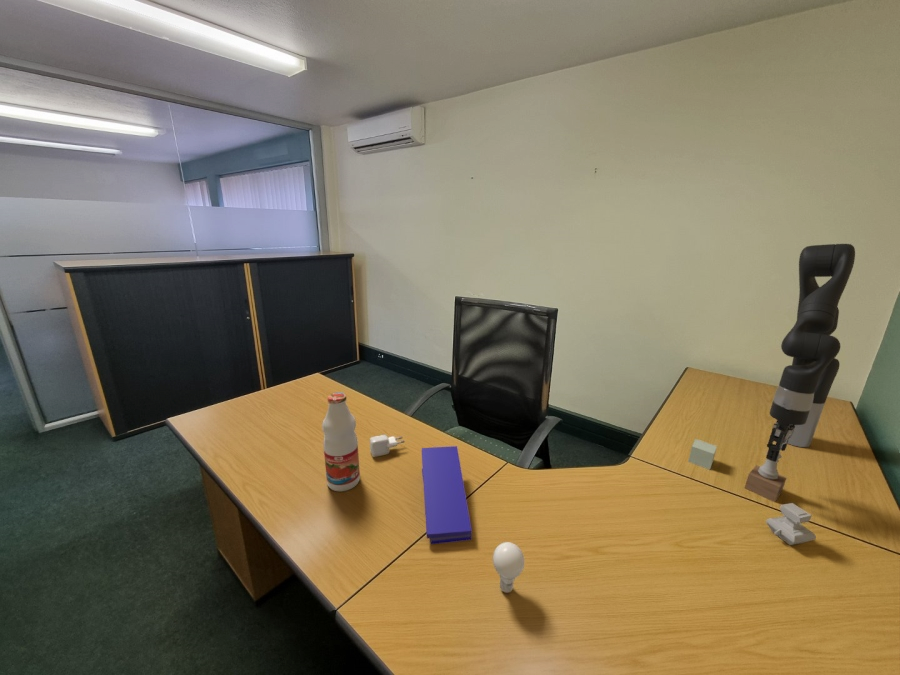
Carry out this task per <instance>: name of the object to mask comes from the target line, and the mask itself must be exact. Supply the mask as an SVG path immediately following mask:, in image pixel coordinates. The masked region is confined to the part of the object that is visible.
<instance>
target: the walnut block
mask: <svg viewBox="0 0 900 675" xmlns="http://www.w3.org/2000/svg"><path fill="white" fill-rule="evenodd" d="M759 467H760V466H759V465H757V464H756V465H755V466H754V467H753V469H752V470H751V471H750V472H749V473H748V475H747V478H746V482H745V486H744V489H746V490H748V491H750V492H753V493H755V494H757V495H758V496H761V497H762V498H765V499H767V500H770V501H772V502H774V503H775V502H776V501H777V500H778V499H779V496H780V495H781V494H782V492H783V489H784V486H785V483H786V480H787V477H786V476H783V475H782V474H779V473H778V478H777V479H775V480H771V479H767V478H765V477H763V476H761V475H760V474H759V472H758V470H759Z"/></svg>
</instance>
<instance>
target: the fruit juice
mask: <svg viewBox="0 0 900 675" xmlns="http://www.w3.org/2000/svg"><path fill="white" fill-rule="evenodd" d="M327 403H328V407H327V412H326V414H325V417H324V419H323V421H322V424H321V428H322V432H323V435H324V438H323V454H324V464H325V465H324V466H325V474H326V484H327V486H328V488H329V489H330V490H332V491H333V492H334V491H335V492H346V491H350V490H351V489H353V488H355V487H356V486H357V485H358V483H359V481H360V478H361V476H360V474H361V472H360V460H359V458H360V457H359V441H358V437H357V433H356V432H355V430H356V428H357V427H356V426H357V422H356V418H355V416H354V414H352V413H351V410H350V409H349V406H348V405H347V395H346V393H344V392H334V393H331V394H329V395H328V396H327Z"/></svg>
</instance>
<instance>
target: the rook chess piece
mask: <svg viewBox="0 0 900 675" xmlns="http://www.w3.org/2000/svg"><path fill="white" fill-rule="evenodd" d="M767 453H768V451H766V454H767ZM781 454H782V453H781V451H780V452H779V455H778V458H777V461H776V462H773V461H771V460H768V459H767V458H766V460H765V461H764V463H763V464H762V465H760V466H759V470H758V472H759V474H760V475H761V476H763V477H765V478H767V479H771V480H775V479H777V478H778V474H779V472H778V469H777V468H778V463H779V462H780V460H779V459H781V458H782V455H781Z"/></svg>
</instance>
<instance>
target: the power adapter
mask: <svg viewBox="0 0 900 675" xmlns="http://www.w3.org/2000/svg"><path fill="white" fill-rule="evenodd" d="M401 439H403V436H399V437H398V436H397V437H395V436H394V435H393V436H392V435H391V436H389V437H388V436H387V434H380V435H376V436H371V437H370V438H369V446H370V447H369V449H370V454H371V455H372V457H374V458H375V457H380V456H384V455H385V456H386V455H388V454H389V453H390V448H394V447H398V445H399V444H403V443H405V440H401ZM397 440H400V441H397Z"/></svg>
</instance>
